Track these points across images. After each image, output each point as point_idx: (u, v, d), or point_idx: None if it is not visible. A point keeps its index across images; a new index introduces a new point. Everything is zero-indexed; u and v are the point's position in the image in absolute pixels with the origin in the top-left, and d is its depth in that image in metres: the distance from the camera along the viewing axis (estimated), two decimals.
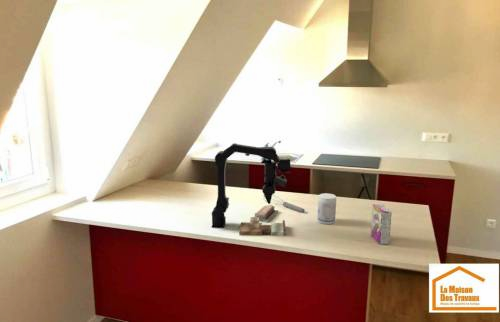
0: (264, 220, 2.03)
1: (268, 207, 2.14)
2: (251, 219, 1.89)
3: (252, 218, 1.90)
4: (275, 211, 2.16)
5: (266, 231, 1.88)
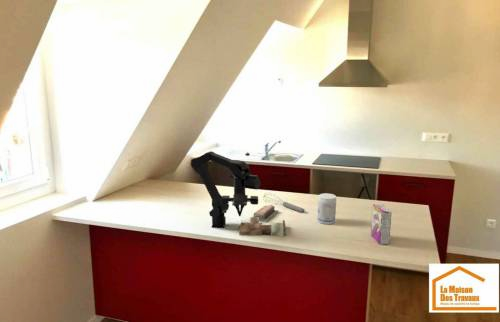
0: (262, 220, 2.03)
1: (268, 207, 2.14)
2: (251, 219, 1.89)
3: (252, 218, 1.90)
4: (275, 211, 2.16)
5: (266, 231, 1.88)
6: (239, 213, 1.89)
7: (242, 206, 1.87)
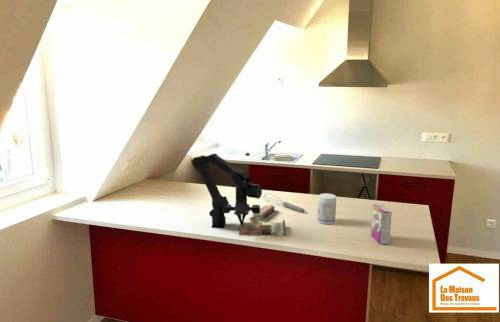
0: (261, 220, 2.03)
1: (268, 207, 2.14)
2: (251, 219, 1.89)
3: (252, 218, 1.90)
4: (275, 211, 2.16)
5: (266, 231, 1.88)
6: (241, 222, 1.90)
7: (244, 215, 1.88)
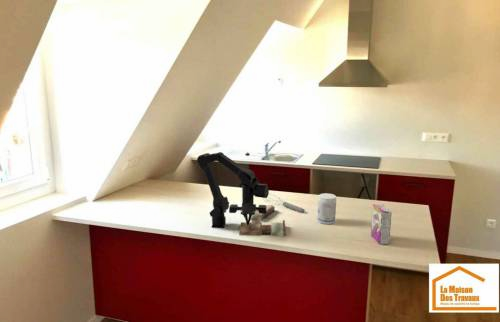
0: (261, 220, 2.03)
1: (267, 207, 2.14)
2: (252, 219, 1.89)
3: (253, 218, 1.90)
4: (275, 211, 2.16)
5: (266, 231, 1.88)
6: (247, 222, 1.90)
7: (250, 215, 1.87)
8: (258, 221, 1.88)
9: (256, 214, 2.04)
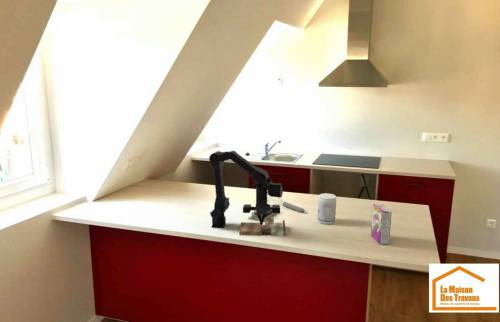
0: None
1: None
2: (266, 219, 1.89)
3: (267, 218, 1.90)
4: None
5: (266, 231, 1.88)
6: (261, 222, 1.89)
7: (264, 215, 1.87)
8: (272, 221, 1.87)
9: None
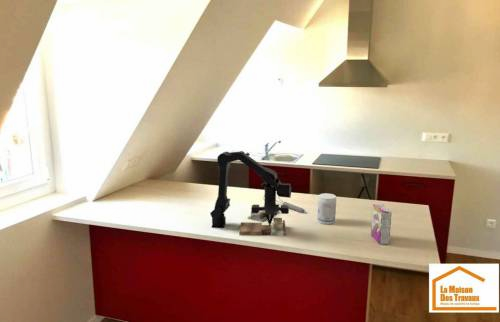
0: (259, 219, 2.04)
1: None
2: (274, 219, 1.88)
3: (275, 218, 1.90)
4: None
5: (266, 231, 1.88)
6: (269, 222, 1.89)
7: (272, 215, 1.87)
8: (280, 221, 1.87)
9: (254, 213, 2.05)
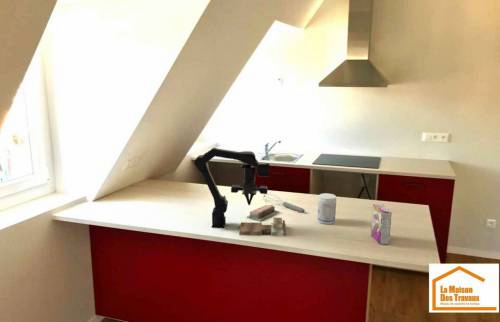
0: (257, 219, 2.04)
1: (267, 207, 2.14)
2: (274, 219, 1.88)
3: (275, 218, 1.90)
4: (274, 211, 2.15)
5: (266, 231, 1.88)
6: (248, 202, 1.95)
7: (251, 195, 1.92)
8: (280, 221, 1.87)
9: (253, 213, 2.06)
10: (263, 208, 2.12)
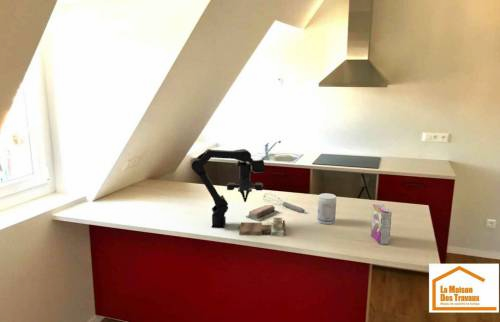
0: (256, 218, 2.05)
1: (267, 207, 2.14)
2: (274, 219, 1.88)
3: (275, 218, 1.90)
4: (274, 211, 2.15)
5: (266, 231, 1.88)
6: (244, 199, 1.98)
7: (247, 192, 1.95)
8: (280, 221, 1.87)
9: (252, 213, 2.06)
10: (263, 208, 2.12)
